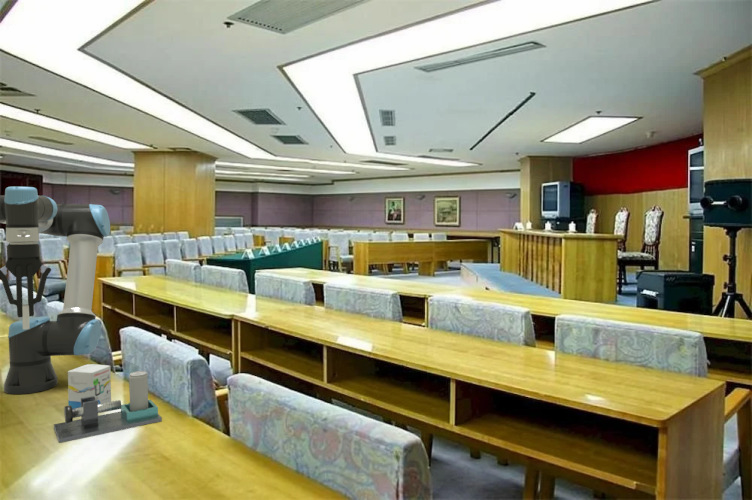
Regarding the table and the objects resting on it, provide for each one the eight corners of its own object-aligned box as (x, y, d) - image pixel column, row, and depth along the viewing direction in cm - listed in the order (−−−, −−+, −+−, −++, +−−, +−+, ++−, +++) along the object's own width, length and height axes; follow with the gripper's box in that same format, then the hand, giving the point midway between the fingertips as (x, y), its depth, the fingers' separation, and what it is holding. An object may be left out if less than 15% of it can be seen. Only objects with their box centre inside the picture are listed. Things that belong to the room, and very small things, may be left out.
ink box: (92, 411, 159) (91, 372, 159) (67, 409, 161) (66, 370, 160) (112, 401, 168) (111, 364, 167) (88, 399, 169) (87, 363, 169)
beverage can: (152, 412, 155) (151, 371, 155) (139, 418, 151) (138, 376, 150) (138, 410, 157) (137, 370, 156) (126, 416, 152) (125, 374, 152)
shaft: (64, 420, 145) (64, 404, 144) (118, 409, 153) (118, 394, 152) (66, 425, 141) (66, 408, 141) (122, 414, 149) (121, 398, 149)
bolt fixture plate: (53, 427, 147) (52, 399, 146) (150, 408, 161) (150, 382, 161) (59, 442, 137) (58, 412, 137) (161, 421, 152) (161, 393, 151)
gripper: (-6, 244, 141) (-3, 333, 142) (52, 243, 149) (54, 328, 150) (-7, 243, 147) (-4, 329, 148) (49, 242, 155) (51, 323, 156)
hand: (26, 328), depth 149 cm, fingers closed
